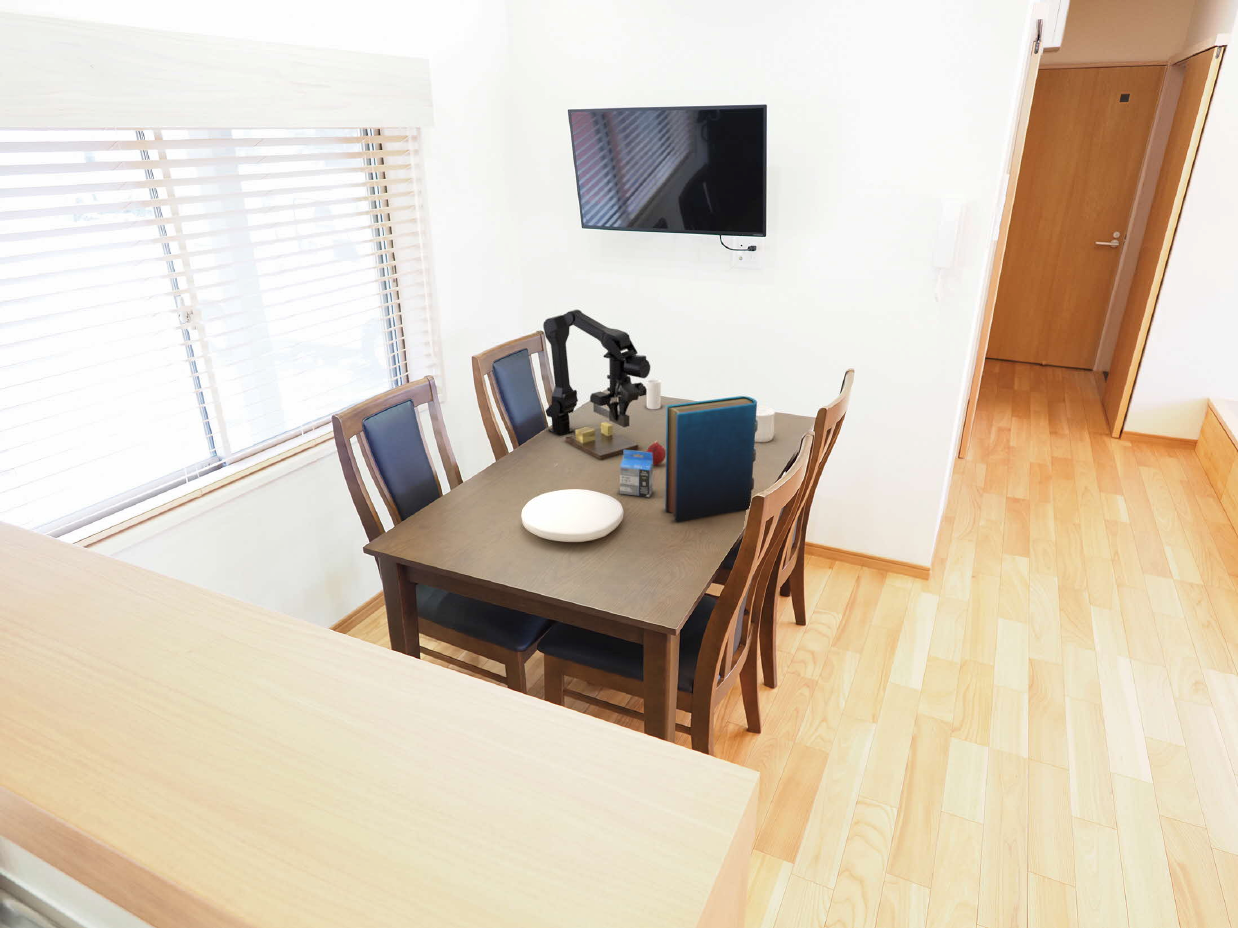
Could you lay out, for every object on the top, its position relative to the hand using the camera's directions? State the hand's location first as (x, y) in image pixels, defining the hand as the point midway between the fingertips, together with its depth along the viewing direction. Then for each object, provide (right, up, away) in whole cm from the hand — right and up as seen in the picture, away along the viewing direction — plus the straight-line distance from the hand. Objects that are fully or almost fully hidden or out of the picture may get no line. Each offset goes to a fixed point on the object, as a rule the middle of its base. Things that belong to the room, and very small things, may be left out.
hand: (619, 419), depth 252 cm
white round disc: (-12, -30, -46) cm, 56 cm away
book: (+25, -27, -38) cm, 52 cm away
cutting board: (-6, -8, +6) cm, 11 cm away
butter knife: (-2, 0, +3) cm, 4 cm away
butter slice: (-4, -4, +11) cm, 12 cm away
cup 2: (+47, -6, +11) cm, 48 cm away
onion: (+11, -15, -10) cm, 21 cm away
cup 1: (+13, +7, +40) cm, 43 cm away
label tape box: (+5, -23, -28) cm, 37 cm away
